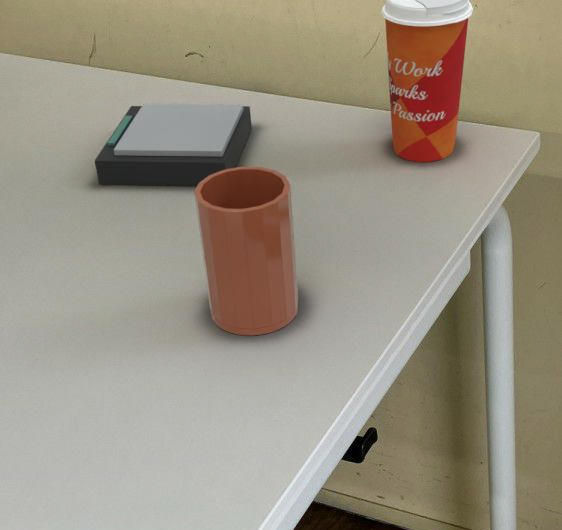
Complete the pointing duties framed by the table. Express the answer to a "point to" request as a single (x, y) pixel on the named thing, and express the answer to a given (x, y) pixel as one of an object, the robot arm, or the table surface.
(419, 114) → the paper cup
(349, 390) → the table surface
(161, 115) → the scale
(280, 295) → the cup
